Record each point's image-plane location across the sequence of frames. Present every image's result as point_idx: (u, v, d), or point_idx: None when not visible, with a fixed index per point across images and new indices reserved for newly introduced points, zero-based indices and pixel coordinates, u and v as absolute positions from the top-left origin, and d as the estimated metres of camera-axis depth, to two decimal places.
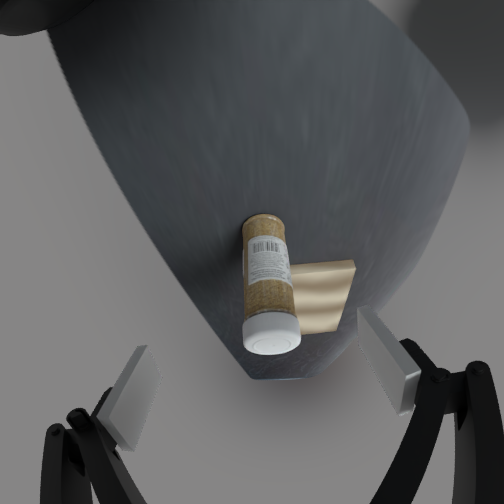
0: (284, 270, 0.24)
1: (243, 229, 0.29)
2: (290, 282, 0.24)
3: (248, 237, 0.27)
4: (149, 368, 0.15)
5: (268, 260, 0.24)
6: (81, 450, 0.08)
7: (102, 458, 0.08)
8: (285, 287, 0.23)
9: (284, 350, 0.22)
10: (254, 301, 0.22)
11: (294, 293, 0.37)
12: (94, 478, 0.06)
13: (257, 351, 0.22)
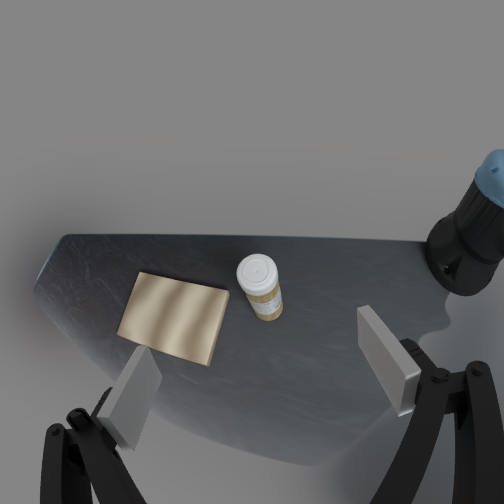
0: (271, 303, 0.35)
1: None
2: (265, 303, 0.35)
3: None
4: (149, 368, 0.15)
5: (279, 296, 0.37)
6: (81, 450, 0.08)
7: (102, 458, 0.08)
8: (271, 298, 0.34)
9: (243, 276, 0.31)
10: None
11: (195, 311, 0.43)
12: (94, 478, 0.06)
13: (250, 259, 0.32)
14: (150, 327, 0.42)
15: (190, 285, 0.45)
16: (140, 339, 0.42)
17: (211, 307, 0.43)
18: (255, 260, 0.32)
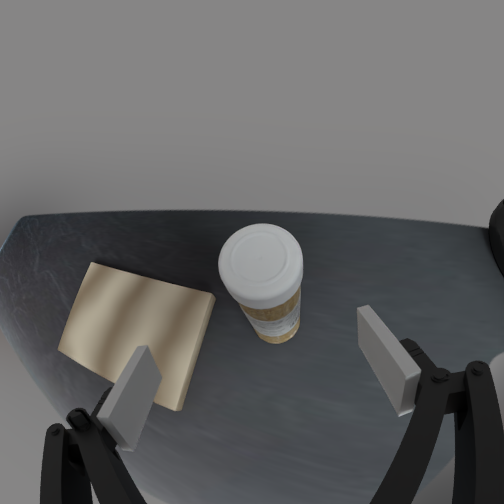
0: (286, 321, 0.19)
1: None
2: (275, 321, 0.18)
3: None
4: (149, 368, 0.15)
5: (298, 308, 0.20)
6: (81, 450, 0.08)
7: (102, 458, 0.08)
8: (286, 312, 0.18)
9: (232, 269, 0.15)
10: None
11: (161, 324, 0.26)
12: (94, 478, 0.06)
13: (248, 234, 0.16)
14: (98, 344, 0.26)
15: (156, 283, 0.29)
16: (85, 360, 0.25)
17: (185, 319, 0.26)
18: (258, 236, 0.15)
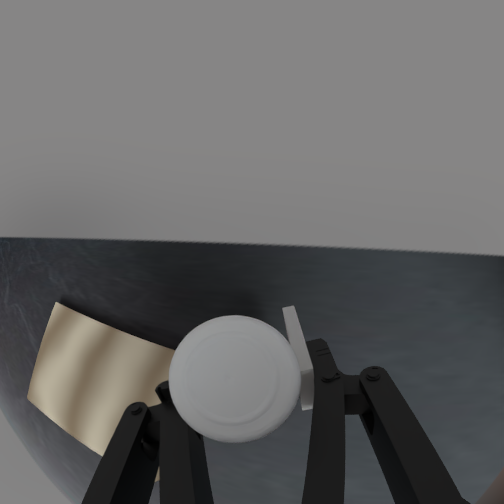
0: None
1: None
2: None
3: None
4: None
5: None
6: (161, 424, 0.10)
7: (182, 438, 0.09)
8: None
9: (187, 394, 0.08)
10: None
11: (131, 387, 0.20)
12: (164, 457, 0.08)
13: (212, 336, 0.09)
14: (65, 400, 0.19)
15: (123, 336, 0.22)
16: (54, 415, 0.19)
17: (157, 384, 0.20)
18: (228, 340, 0.09)
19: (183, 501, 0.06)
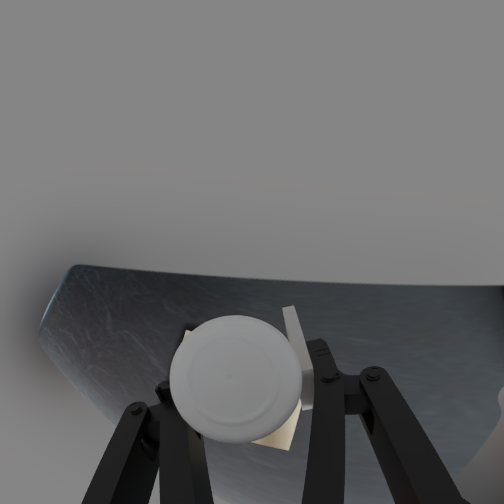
0: None
1: None
2: None
3: None
4: None
5: None
6: (161, 424, 0.10)
7: (181, 438, 0.09)
8: None
9: (188, 394, 0.08)
10: None
11: None
12: (164, 457, 0.08)
13: (213, 336, 0.09)
14: None
15: None
16: None
17: None
18: (229, 340, 0.09)
19: (183, 501, 0.06)
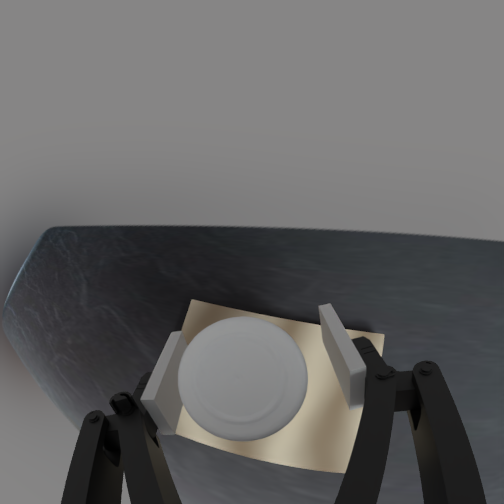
0: None
1: None
2: None
3: None
4: None
5: None
6: (120, 435, 0.09)
7: (141, 446, 0.08)
8: None
9: (197, 394, 0.08)
10: None
11: (328, 379, 0.20)
12: (128, 465, 0.07)
13: (221, 336, 0.09)
14: None
15: (309, 328, 0.22)
16: (208, 437, 0.19)
17: None
18: (237, 341, 0.09)
19: None
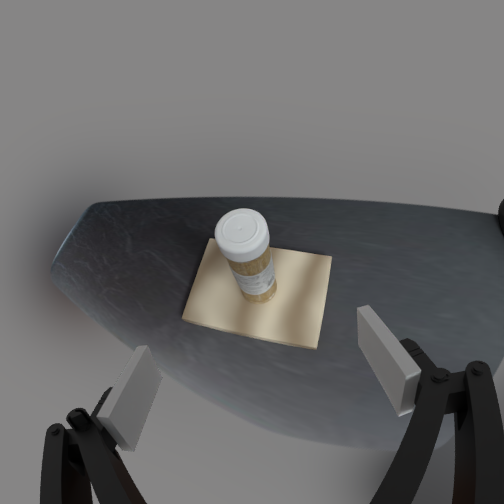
0: (261, 277, 0.28)
1: None
2: (254, 277, 0.27)
3: None
4: (149, 368, 0.15)
5: (271, 270, 0.29)
6: (81, 450, 0.08)
7: (102, 458, 0.08)
8: (260, 269, 0.26)
9: (223, 235, 0.24)
10: None
11: (295, 282, 0.35)
12: (94, 478, 0.06)
13: (233, 214, 0.24)
14: (233, 305, 0.35)
15: (283, 251, 0.37)
16: (219, 322, 0.34)
17: (314, 276, 0.35)
18: (239, 215, 0.24)
19: None
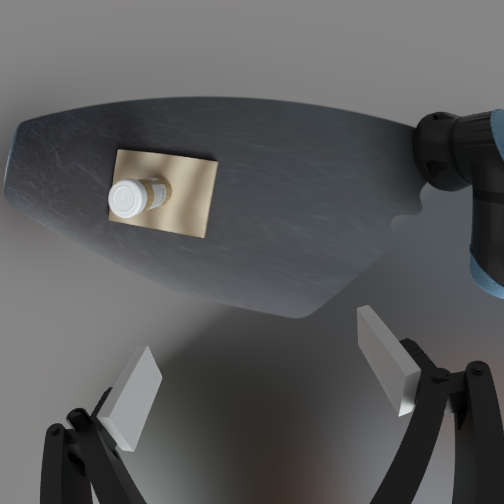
0: (151, 207, 0.36)
1: (164, 179, 0.41)
2: (145, 210, 0.35)
3: (164, 184, 0.39)
4: (149, 368, 0.15)
5: (159, 198, 0.36)
6: (81, 450, 0.08)
7: (103, 458, 0.08)
8: (147, 208, 0.34)
9: (113, 205, 0.30)
10: (148, 189, 0.32)
11: (186, 185, 0.42)
12: (94, 478, 0.06)
13: (118, 187, 0.29)
14: None
15: (176, 158, 0.41)
16: (134, 220, 0.43)
17: (202, 180, 0.42)
18: (122, 187, 0.29)
19: None
